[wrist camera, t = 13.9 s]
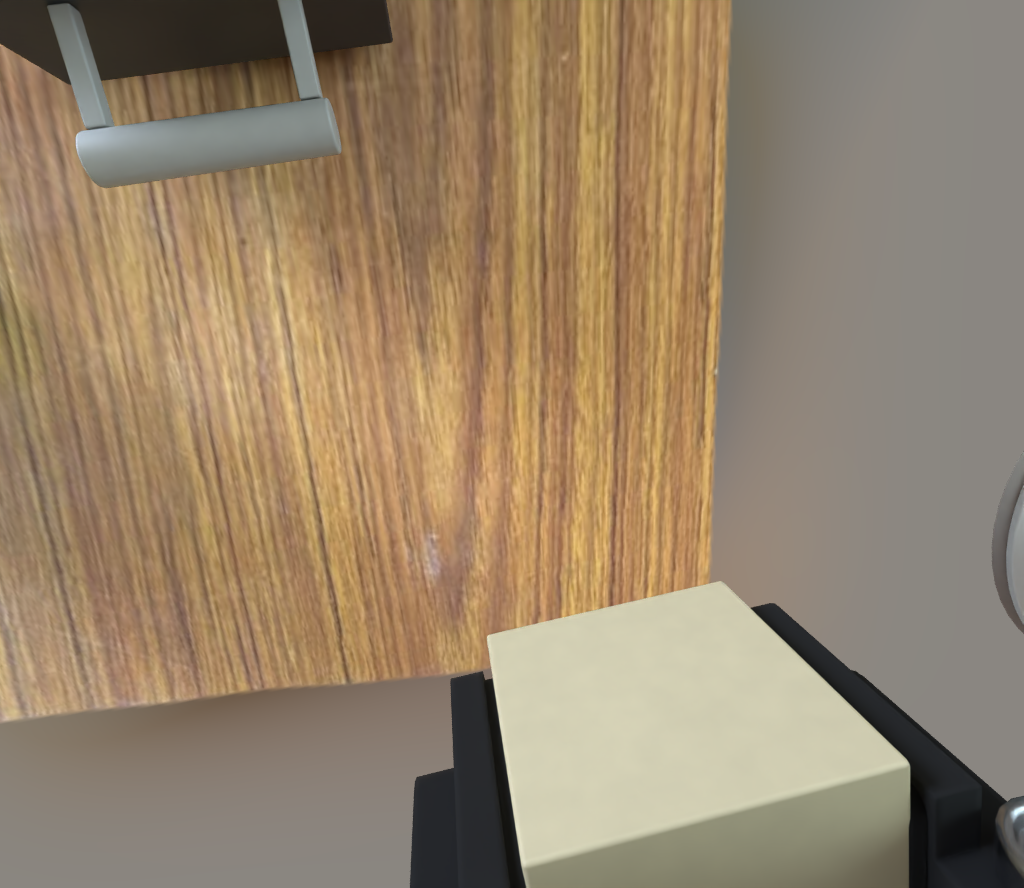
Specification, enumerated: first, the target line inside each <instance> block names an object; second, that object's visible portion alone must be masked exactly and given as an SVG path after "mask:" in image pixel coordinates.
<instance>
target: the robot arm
mask: <svg viewBox="0 0 1024 888" xmlns="http://www.w3.org/2000/svg"><path fill="white" fill-rule="evenodd" d="M751 609H752V610H753V611H754V612H755V613H756V614H757V615H758V616H759V617H760V618H761V619H762V620H763V621H764V622H765V623H766V624H767V625H768V626H769V627H770V628H771V629H772V630H773V631H774V632H775V633H776V634H777V635H779V636H780V637H781V638H782V639H783V640H784V641H785V642H786V643H787V644H788V645H789V646H790V647H791V648H792V649H793V650H794V651H795V652H796V653H797V654H798V655H799V656H800V657H801V658H802V659H803V660H804V661H805V662H806V663H807V664H809V665H810V666H811V667H812V668H813V669H814V670H815V671H816V672H817V673H818V674H819V675H820V676H821V677H822V678H823V679H824V680H825V681H826V682H827V683H828V684H829V685H830V686H831V687H832V688H833V689H834V690H835V691H836V692H838V693H839V694H840V695H841V696H842V697H843V698H844V699H845V700H846V701H847V702H848V703H849V704H850V705H851V706H852V707H853V708H854V709H855V710H856V711H857V712H858V713H859V714H860V715H861V716H862V717H863V718H864V719H865V720H866V721H868V722H869V723H870V724H871V725H872V726H873V727H874V728H875V729H876V730H877V731H878V732H879V733H880V734H881V735H882V736H883V737H884V738H885V739H886V740H887V741H888V742H889V743H890V744H891V745H892V746H893V747H894V748H895V749H897V750H898V751H899V752H900V753H901V754H902V755H903V756H904V757H905V758H906V759H907V761H908V762H909V765H910V823H909V888H1024V796H1021V797H1016V798H1012V799H1010V800H1009V801H1008V802H1007V801H1006V800H1005V799H1004V798H1002V797H1001V796H1000V795H999V794H998V793H997V792H996V791H994V790H993V789H992V788H991V787H989V785H988V784H986V783H985V782H984V781H983V780H982V779H981V778H980V777H978V776H977V775H976V774H975V773H974V772H973V771H972V770H970V769H969V768H968V767H967V766H966V765H965V764H963V763H962V762H961V761H960V760H959V759H957V758H956V757H955V756H954V755H953V754H952V753H951V752H950V751H949V750H947V749H946V748H945V747H944V746H943V745H942V744H941V743H939V742H938V741H937V740H936V739H935V738H933V737H932V736H931V735H930V734H929V733H928V732H927V731H926V730H924V729H923V728H922V727H921V726H920V725H919V724H918V723H916V722H915V721H914V720H913V719H912V718H911V717H910V716H908V715H907V714H906V713H905V712H904V711H903V710H901V709H900V708H899V707H898V706H897V705H896V704H895V703H893V702H892V701H891V700H890V699H889V698H888V697H887V696H885V695H884V694H883V693H882V692H881V691H880V690H879V689H877V688H876V687H875V686H874V685H873V684H872V683H870V682H869V681H868V680H867V679H866V678H865V677H863V676H862V675H860V674H859V673H858V672H856V671H852V670H850V669H849V668H848V667H847V666H845V665H844V664H843V663H842V662H841V661H840V660H838V659H837V658H836V657H835V656H834V655H833V654H832V653H831V652H829V651H828V650H827V649H826V648H825V647H824V646H823V645H822V644H820V643H819V642H818V641H817V640H816V639H815V638H814V637H813V636H811V635H810V634H809V633H808V632H807V631H806V630H805V629H804V628H802V627H801V626H800V625H799V624H798V623H797V622H796V621H794V620H793V619H792V618H791V617H790V616H789V615H788V614H787V613H785V612H784V611H783V610H782V609H781V608H780V607H779V606H777V605H776V604H774V603H769V604H765V605H761V606H756V607H753V608H751ZM451 707H452V733H453V758H454V768H451V769H448V770H443V771H440V772H436V773H431V774H427V775H423V776H419V777H417V778H416V781H415V788H414V807H413V831H412V852H411V853H412V854H411V875H410V888H526V884H525V879H524V875H523V870H522V866H521V860H520V853H519V847H518V840H517V834H516V827H515V820H514V814H513V807H512V801H511V794H510V788H509V781H508V775H507V768H506V761H505V755H504V748H503V742H502V735H501V729H500V722H499V716H498V709H497V702H496V696H495V689H494V683H493V678H492V679H488V680H485V678H484V674H483V671H482V672H478V673H473V674H469V675H465V676H461V677H457V678H452V679H451Z"/></svg>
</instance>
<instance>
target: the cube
mask: <svg viewBox="0 0 1024 888" xmlns="http://www.w3.org/2000/svg"><path fill="white" fill-rule="evenodd" d="M487 643H488V650H489V657H490V663H491V670H492V676H493V683H494V689H495V696H496V702H497V709H498V716H499V722H500V729H501V735H502V742H503V748H504V755H505V761H506V768H507V775H508V781H509V788H510V794H511V801H512V807H513V814H514V820H515V827H516V834H517V840H518V847H519V853H520V860H521V866H522V870H523V875H524V879H525V884H526V888H909V823H910V765H909V762H908V761H907V759H906V758H905V757H904V756H903V755H902V754H901V753H900V752H899V751H898V750H897V749H895V748H894V747H893V746H892V745H891V744H890V743H889V742H888V741H887V740H886V739H885V738H884V737H883V736H882V735H881V734H880V733H879V732H878V731H877V730H876V729H875V728H874V727H873V726H872V725H871V724H870V723H869V722H868V721H866V720H865V719H864V718H863V717H862V716H861V715H860V714H859V713H858V712H857V711H856V710H855V709H854V708H853V707H852V706H851V705H850V704H849V703H848V702H847V701H846V700H845V699H844V698H843V697H842V696H841V695H840V694H839V693H838V692H836V691H835V690H834V689H833V688H832V687H831V686H830V685H829V684H828V683H827V682H826V681H825V680H824V679H823V678H822V677H821V676H820V675H819V674H818V673H817V672H816V671H815V670H814V669H813V668H812V667H811V666H810V665H809V664H807V663H806V662H805V661H804V660H803V659H802V658H801V657H800V656H799V655H798V654H797V653H796V652H795V651H794V650H793V649H792V648H791V647H790V646H789V645H788V644H787V643H786V642H785V641H784V640H783V639H782V638H781V637H780V636H779V635H777V634H776V633H775V632H774V631H773V630H772V629H771V628H770V627H769V626H768V625H767V624H766V623H765V622H764V621H763V620H762V619H761V618H760V617H759V616H758V615H757V614H756V613H755V612H754V611H753V610H752V609H751V608H750V607H748V606H747V605H746V604H745V603H744V602H743V601H742V600H741V599H740V598H739V597H738V596H737V595H736V594H735V593H734V592H733V591H732V590H731V589H730V588H729V587H728V586H727V585H726V584H725V583H724V582H722V581H718V582H715V583H710V584H706V585H701V586H697V587H693V588H688V589H684V590H680V591H675V592H671V593H667V594H662V595H658V596H654V597H649V598H645V599H641V600H637V601H632V602H628V603H624V604H619V605H615V606H611V607H606V608H602V609H598V610H593V611H589V612H585V613H581V614H576V615H572V616H568V617H563V618H559V619H555V620H550V621H546V622H542V623H537V624H533V625H529V626H524V627H520V628H516V629H512V630H507V631H503V632H499V633H494V634H490V635H488V636H487Z"/></svg>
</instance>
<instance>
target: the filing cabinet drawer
mask: <svg viewBox="0 0 1024 888" xmlns="http://www.w3.org/2000/svg"><path fill="white" fill-rule="evenodd" d="M392 41H393V38H392V32H391V26H390V20H389V14H388V9H387V3H386V0H0V44H2V45H3V46H5V47H7V48H9V49H10V50H12V51H14V52H15V53H17V54H19V55H20V56H22V57H24V58H25V59H27V60H29V61H30V62H32V63H34V64H35V65H37V66H39V67H40V68H42V69H44V70H45V71H47V72H49V73H50V74H52V75H54V76H55V77H57V78H59V79H60V80H62V81H64V82H66V83H67V84H70V85H72V88H73V91H74V94H75V97H76V101H77V104H78V107H79V110H80V113H81V116H82V120H83V123H84V126H85V127H86V128H87V129H89V130H85V131H80V132H79V133H78V134H77V135H76V149H77V153H78V156H79V159H80V161H81V163H82V165H83V167H84V169H85V171H86V172H87V174H88V175H89V177H90V178H91V179H92V180H93V181H94V182H95V183H96V184H97V185H98V186H100V187H103V188H111V187H118V186H125V185H132V184H139V183H146V182H152V181H159V180H166V179H173V178H180V177H187V176H194V175H201V174H208V173H214V172H221V171H228V170H235V169H242V168H249V167H256V166H263V165H269V164H276V163H283V162H290V161H297V160H304V159H311V158H318V157H324V156H331V155H338V154H340V153H341V142H340V136H339V131H338V127H337V123H336V119H335V115H334V112H333V109H332V106H331V103H330V101H329V100H328V98H323V96H322V91H321V87H320V82H319V78H318V73H317V69H316V64H315V59H314V55H313V53H316V52H324V51H332V50H339V49H347V48H355V47H362V46H370V45H378V44H385V43H391V42H392ZM286 56H290V58H291V63H292V67H293V72H294V76H295V80H296V85H297V89H298V93H299V98H300V99H301V101H296V102H289V103H282V104H274V105H267V106H260V107H253V108H245V109H238V110H231V111H223V112H216V113H209V114H202V115H194V116H187V117H180V118H173V119H165V120H158V121H151V122H143V123H136V124H129V125H122V126H115V125H114V122H113V119H112V116H111V112H110V109H109V106H108V102H107V99H106V96H105V93H104V89H103V86H102V83H101V81H103V80H110V79H118V78H126V77H133V76H141V75H148V74H156V73H164V72H171V71H179V70H187V69H194V68H202V67H210V66H217V65H225V64H232V63H240V62H248V61H255V60H263V59H271V58H278V57H286Z"/></svg>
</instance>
